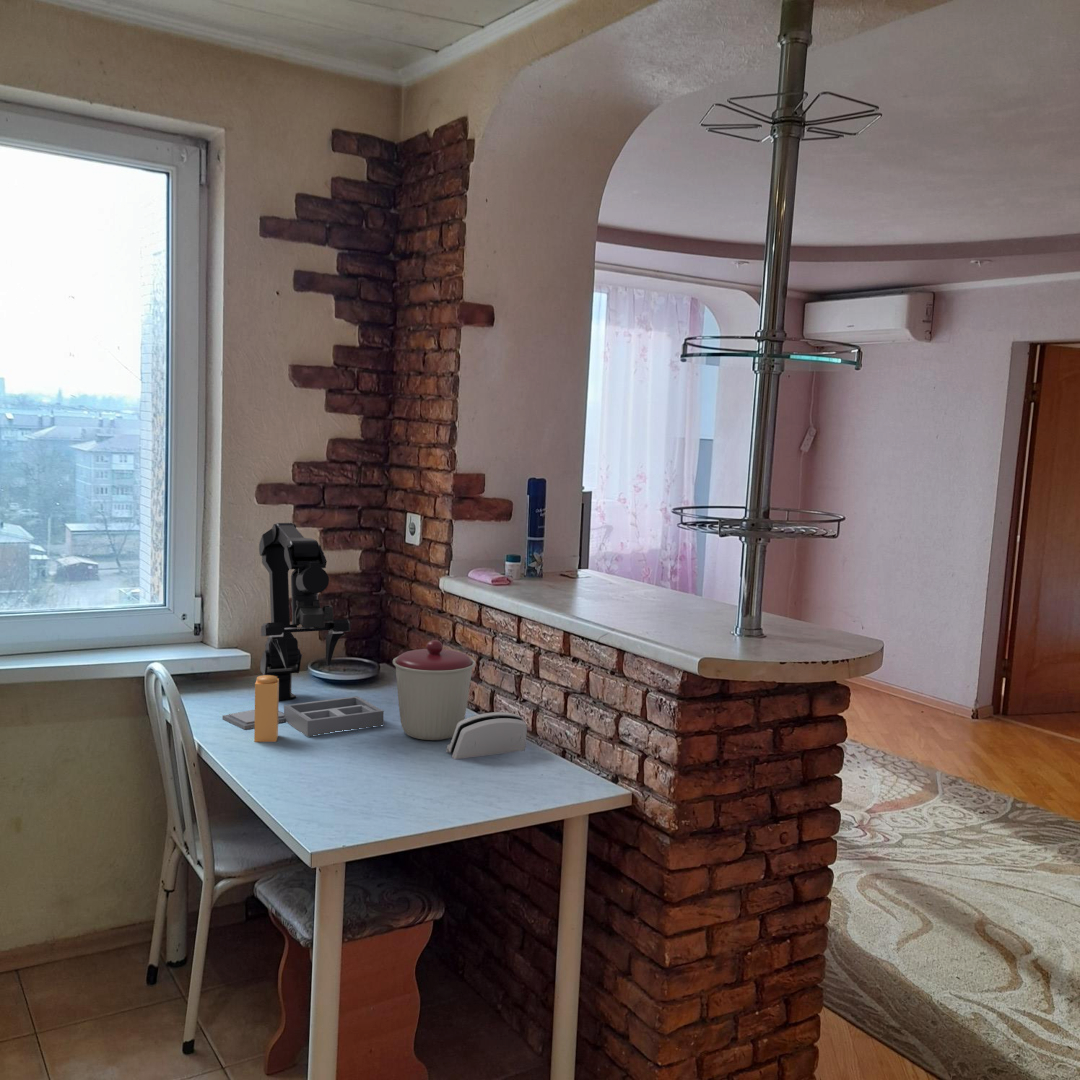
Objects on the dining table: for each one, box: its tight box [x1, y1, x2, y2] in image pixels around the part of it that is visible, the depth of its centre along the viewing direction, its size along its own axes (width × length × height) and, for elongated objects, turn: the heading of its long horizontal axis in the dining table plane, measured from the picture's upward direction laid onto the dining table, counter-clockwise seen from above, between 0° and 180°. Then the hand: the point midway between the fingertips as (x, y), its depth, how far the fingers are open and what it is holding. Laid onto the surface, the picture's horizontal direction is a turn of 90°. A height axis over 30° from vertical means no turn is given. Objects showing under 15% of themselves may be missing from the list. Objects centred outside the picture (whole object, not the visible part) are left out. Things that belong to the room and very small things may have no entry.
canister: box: [392, 639, 476, 741], centre depth 227 cm, size 18×18×21 cm
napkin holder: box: [445, 711, 528, 760], centre depth 216 cm, size 17×5×10 cm, turn 118°
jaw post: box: [253, 674, 280, 743], centre depth 220 cm, size 4×4×13 cm
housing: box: [283, 695, 385, 737], centre depth 233 cm, size 14×18×4 cm
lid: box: [222, 709, 287, 730], centre depth 233 cm, size 10×12×1 cm
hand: (307, 667), depth 227 cm, fingers open, 9 cm apart
